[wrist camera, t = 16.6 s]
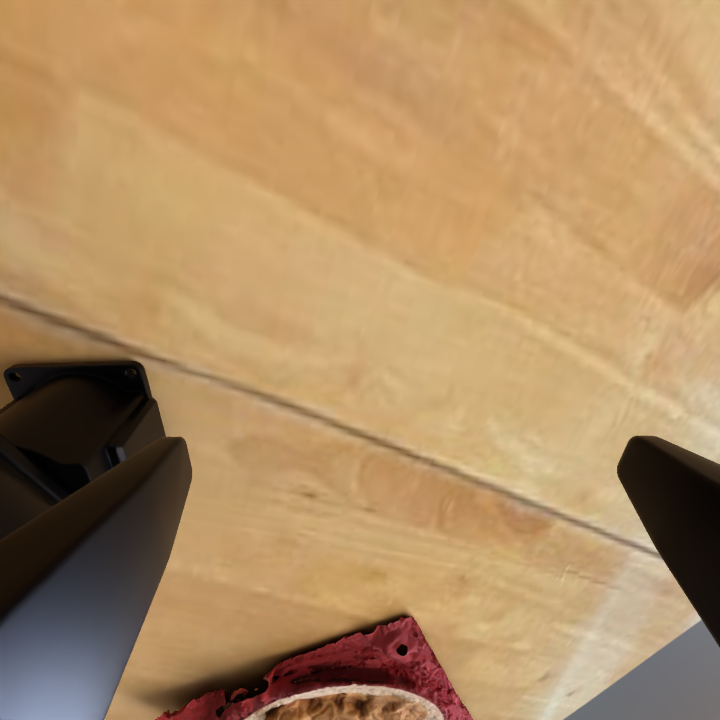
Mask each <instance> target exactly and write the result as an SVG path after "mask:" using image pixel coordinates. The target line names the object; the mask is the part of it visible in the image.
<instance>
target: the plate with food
mask: <svg viewBox="0 0 720 720" xmlns="http://www.w3.org/2000/svg"><path fill="white" fill-rule="evenodd" d="M400 644H405V645H406V646H408V653H407V654H406V655H405V656H400V655H399V654H398V653H397V652H396V650H397V648H398V647H399V646H400ZM264 680H267V681H268V683H269V687H268V689H267V690H266V692H264V693H262V694H260V695H257V696H255V697H254V698H250V699H249V698H248V699H247V698H244V696H245V695H247V693H248V690H247V689H243V688H239V690H237V691H234V692H233V694H232V695H231V698H230V701H231V702H232V703H231V702H228V704H226V705H225V703H226V700H225V691H224V689H223V688H221V689H220V690H219V691H218V690H215V691H214V692H209V693H206V694H205V695H204V696H201V698H200V699H198V698H196V699H193V700H192V701H191V702H190V703H189V704H188V705H187V706H186V705H185V706H184V707H182V708H181V709H180V710H179V711H175V712H174V713H172V714H170V713H169V710H168V712H164V713H163V714H162V715H161V717H158V718H157V719H156V720H473V719H472V718H471V716H470V714H469V712H468V711H467V709H466V707H465V706H464V707H463V704H462V702H461V700H460V698H459V696H458V695H456V692H455V691H454V688H453V687H452V685H451V683H450V681H449V680H448V678H447V676H446V674H445V672H444V670H443V668H442V667H441V666H440V664H439V663H438V661H437V660H436V657H435V655H434V652H433V651H432V650H431V648H430V647H429V645H428V642H426V640H425V637H424V635H423V634H422V631H421V629H420V627H419V626H418V624H417V622H416V621H415V620H414V618H413V617H408V618H406V619H403V618H402V617H400V619H399V621H396V622H395V623H392V622H391V623H389V625H388V626H386V625H378V626H377V628H376V630H375V631H374V632H373V633H371V634H368V635H364V634H362V633H361V632H359V633H356V634H355V635H352V636H350V637H345V636H344V637H343V638H342V639H341V640H340V641H337V642H336V644H334V643H332V644H327V645H326V646H325V647H322V648H318V649H317V650H316V651H311V652H308V653H307V654H304V655H298V656H296V657H295V658H294V659H292V658H290V659H288V660H285V661H284V662H281V663H279V664H278V665H276V666H275V667H274V668H273V669H272V670H271V671H270V672H269V673H267V674H266V675H265V676H264ZM258 689H259V688H256V689H255V690H258ZM246 690H247V691H246ZM247 696H248V695H247ZM238 699H240V700H238ZM243 699H246V700H244V701H241V700H243ZM240 701H241V702H240ZM220 706H224V707H223V709H225V711H224V712H223V714H222V715H219V717H217V715H216V710H217V708H220ZM226 708H227V709H226Z"/></svg>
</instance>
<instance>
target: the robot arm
mask: <svg viewBox="0 0 720 720" xmlns="http://www.w3.org/2000/svg"><path fill="white" fill-rule="evenodd" d="M129 369H133V370H135V371H136V373H137V374H133V373H132V372H130V370H129ZM15 373H17V374H19V375H20V377H21V378H20V377H18V376H17V375H16V374H15ZM4 378H5V381H6V383H7V385H8V387H9V389H10V392H11V394H12V396H13V398H14V400H13V401H11V402H10V403H8V404H7V405H6V406H4V407H3V408H2V409H0V720H104V719H105V716H106V714H107V711H108V709H109V706H110V704H111V701H112V699H113V696H114V694H115V691H116V689H117V686H118V684H119V682H120V679H121V677H122V674H123V672H124V669H125V667H126V664H127V662H128V659H129V657H130V654H131V652H132V649H133V647H134V644H135V642H136V640H137V637H138V635H139V632H140V630H141V627H142V625H143V622H144V620H145V617H146V615H147V612H148V610H149V607H150V605H151V602H152V600H153V598H154V595H155V593H156V590H157V588H158V585H159V583H160V580H161V578H162V575H163V573H164V570H165V568H166V565H167V562H168V560H169V557H170V554H171V550H172V547H173V544H174V540H175V537H176V533H177V530H178V526H179V523H180V519H181V516H182V512H183V509H184V505H185V502H186V498H187V495H188V491H189V488H190V484H191V480H192V467H191V462H190V458H189V453H188V449H187V444H186V441H185V440H184V439H183V438H182V437H166V435H165V431H164V428H163V424H162V420H161V416H160V412H159V408H158V405H157V401H156V400H155V399H154V398H152V395H151V391H150V387H149V383H148V380H147V376H146V372H145V369H144V367H143V365H141V364H140V363H138V362H136V361H116V362H84V363H52V364H19V365H13V366H11V367H10V368H8V369H7V370H5V371H4ZM617 474H618V477H619V480H620V481H621V483H622V485H623V487H624V489H625V491H626V493H627V495H628V497H629V499H630V500H631V502H632V504H633V506H634V508H635V510H636V512H637V514H638V516H639V517H640V519H641V521H642V523H643V525H644V527H645V529H646V531H647V533H648V534H649V536H650V538H651V540H652V542H653V544H654V545H655V547H656V549H657V550H658V552H659V554H660V555H661V557H662V559H663V560H664V562H665V563H666V565H667V566H668V568H669V570H670V571H671V573H672V574H673V576H674V577H675V579H676V580H677V582H678V584H679V585H680V587H681V588H682V590H683V591H684V593H685V594H686V596H687V597H688V599H689V601H690V602H691V604H692V605H693V607H694V608H695V610H696V611H697V613H698V615H699V616H700V618H701V619H702V621H703V622H704V624H705V625H706V627H707V629H708V630H709V631H710V633H711V635H712V636H713V638H714V639H715V641H716V642H717V644H718V646H719V647H720V464H718V463H715V462H713V461H711V460H708V459H706V458H704V457H702V456H699V455H697V454H695V453H693V452H690V451H688V450H686V449H684V448H681V447H679V446H677V445H675V444H672V443H670V442H668V441H666V440H663V439H661V438H659V437H656V436H634V437H632V438H631V439H630V440H629V441H628V443H627V446H626V448H625V450H624V452H623V454H622V457H621V459H620V461H619V463H618V466H617Z"/></svg>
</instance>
